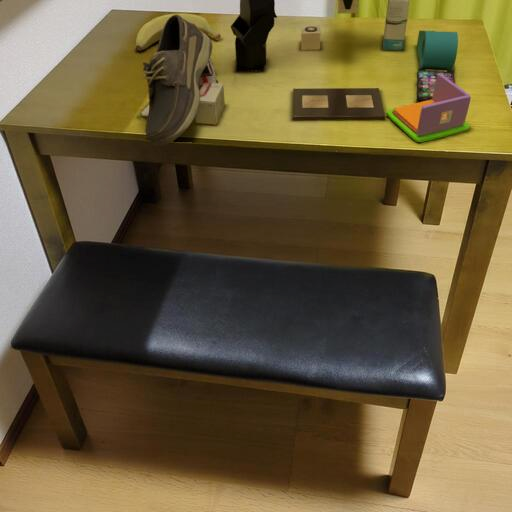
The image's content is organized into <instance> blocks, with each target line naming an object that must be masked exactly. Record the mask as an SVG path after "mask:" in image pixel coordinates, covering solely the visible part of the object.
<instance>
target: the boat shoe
mask: <svg viewBox="0 0 512 512" xmlns="http://www.w3.org/2000/svg"><path fill="white" fill-rule="evenodd" d="M212 54H213V42H212V40H211V38H210V37H209V36H208V34H205V33H203V32H201V31H200V30H199V29H198V28H197V27H196V25H195V24H193V23H190V22H187V21H186V20H184V19H183V18H182V17H181V16H179V15H173V16H171V17H170V18H169V19H168V20H167V22H166V24H165V26H164V28H163V31H162V34H161V38H160V40H158V45H157V49H156V52H154V53H152V54H151V55H150V58H149V62H145V61H143V62H142V65H143V68H142V69H141V72H142V73H143V74H145V77H144V79H145V80H146V82H147V87H148V100H149V101H148V104H149V114H148V116H147V120H146V125H145V131H144V132H145V134H146V136H147V139H148V140H149V142H151V144H152V145H153V146H155V147H162V146H166V145H168V144H170V143H172V142H174V141H175V140H176V139H178V138H180V137H181V136H182V135H183V134H184V133H185V131H187V129H188V128H189V127H190V125H191V124H192V122H193V121H194V119H195V115H196V113H197V111H198V109H199V105H200V91H199V79H200V76H201V74H202V72H203V70H204V69H205V67H206V65H207V64H208V62H209V59H210V58H211V57H212Z"/></svg>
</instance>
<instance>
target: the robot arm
mask: <svg viewBox="0 0 512 512" xmlns="http://www.w3.org/2000/svg"><path fill="white" fill-rule="evenodd" d="M343 2H344V6H345V9H350V8H351V5H352V2H353V0H343ZM275 5H276V2H275V0H239V14H238V16H237V17H236V18H235V20H234V21H233V22H232V24H231V25H230V29H231V31H232V33H233V36H234V37H235V39H234V50H235V68H234V70H235V72H264V71H265V66H266V65H267V61H268V59H267V57H268V56H267V54H268V53H267V40H268V38H269V34H270V32H271V31H272V30H273V28H274V26H275V19H277V18H278V16H277V14H276V9H275V7H276V6H275Z"/></svg>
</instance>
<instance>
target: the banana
mask: <svg viewBox="0 0 512 512" xmlns="http://www.w3.org/2000/svg"><path fill="white" fill-rule="evenodd" d="M173 15H179V16H181V17H182V18H183V19H184V20H186V21H187V22H190V23H193V24H195V25H196V27H197V28H198V29H199V30H200V31H201V32H203V33H205V34H206V35H209V36H210V37H212V38H214V40H215V41H219V40H220V39H221V33H219V32H216V31H213V29H212V28H211V26H210V24H209V22H208V20H207V19H205V18H204V17H202V16H200V15H198V14H195V13H194V14H193V13H181V12H180V13H168V14H164V15H161V16H157V17H155V18H152V19H151V20H149V21H147V22H146V23H145V24H144V25H143V26H141V28H140V30H139V31H138V32H137V35H136V38H135V48H136V50H137V51H140V52H141V51H144V50H146V49H148V48H149V47H150V46H152V45H153V44H155V43H156V42H159V40H160V38H161V34H162V31H163V28H164V26H165V24H166V22H167V20H168V19H169V18H170V17H171V16H173Z"/></svg>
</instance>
